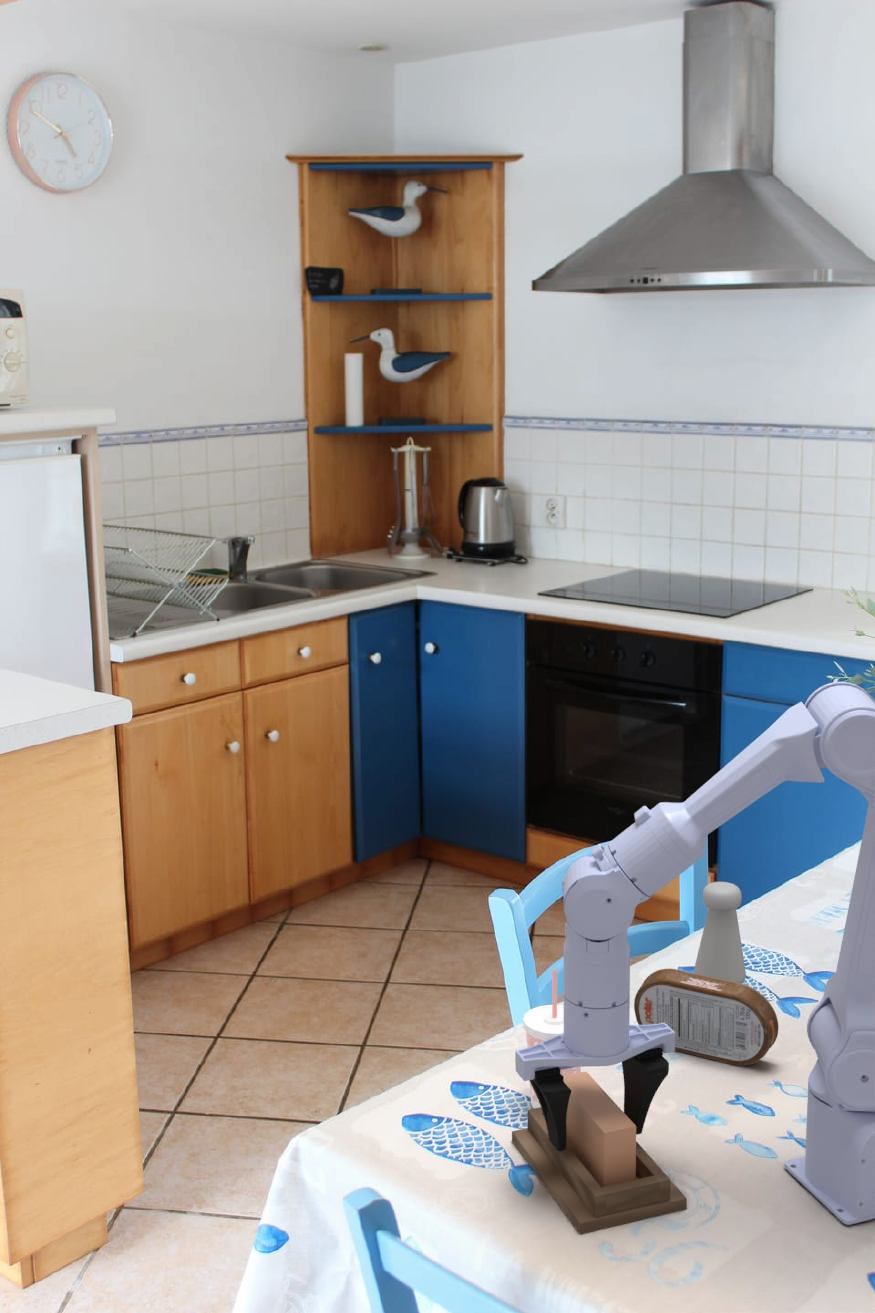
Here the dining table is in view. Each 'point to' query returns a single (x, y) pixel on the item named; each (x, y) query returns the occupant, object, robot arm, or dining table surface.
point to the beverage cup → (546, 1029)
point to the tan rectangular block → (599, 1132)
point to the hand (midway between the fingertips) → (595, 1137)
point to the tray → (595, 1183)
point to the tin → (709, 1015)
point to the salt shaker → (721, 935)
